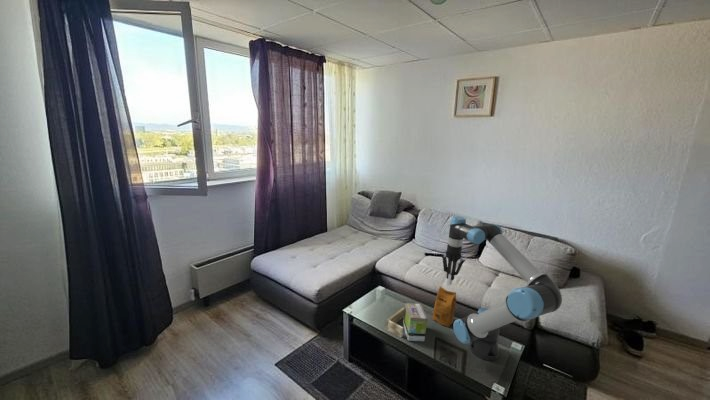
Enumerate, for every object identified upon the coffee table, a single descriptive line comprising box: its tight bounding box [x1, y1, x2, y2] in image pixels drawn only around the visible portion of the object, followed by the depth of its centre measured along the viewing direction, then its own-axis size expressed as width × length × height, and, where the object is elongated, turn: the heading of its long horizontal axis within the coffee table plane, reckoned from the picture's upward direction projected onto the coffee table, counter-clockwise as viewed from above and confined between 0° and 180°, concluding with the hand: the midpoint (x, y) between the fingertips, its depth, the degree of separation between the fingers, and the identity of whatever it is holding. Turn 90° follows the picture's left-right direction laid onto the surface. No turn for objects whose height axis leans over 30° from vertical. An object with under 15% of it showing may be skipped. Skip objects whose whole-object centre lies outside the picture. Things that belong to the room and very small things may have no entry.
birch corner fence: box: [384, 306, 405, 338], centre depth 173 cm, size 11×19×6 cm, turn 140°
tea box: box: [402, 302, 428, 342], centre depth 167 cm, size 15×10×15 cm
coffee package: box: [432, 286, 457, 328], centre depth 179 cm, size 10×12×22 cm
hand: (449, 284), depth 161 cm, fingers closed
